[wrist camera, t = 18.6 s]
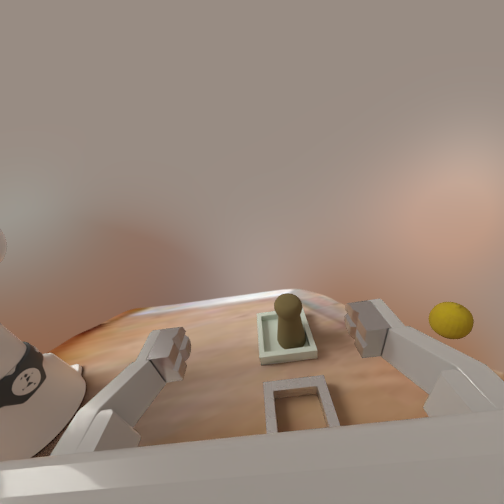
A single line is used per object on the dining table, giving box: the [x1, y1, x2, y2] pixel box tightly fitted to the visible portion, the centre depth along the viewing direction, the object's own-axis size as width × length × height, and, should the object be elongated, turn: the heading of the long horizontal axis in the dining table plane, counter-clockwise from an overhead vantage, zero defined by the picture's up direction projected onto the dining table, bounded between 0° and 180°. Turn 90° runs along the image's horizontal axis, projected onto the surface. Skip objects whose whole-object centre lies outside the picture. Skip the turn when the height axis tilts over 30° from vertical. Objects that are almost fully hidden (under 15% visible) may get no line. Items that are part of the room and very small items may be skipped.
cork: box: [274, 294, 306, 349], centre depth 38 cm, size 6×6×11 cm
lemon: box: [429, 302, 473, 339], centre depth 35 cm, size 6×6×8 cm
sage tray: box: [257, 307, 317, 365], centre depth 42 cm, size 11×11×2 cm
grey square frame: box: [263, 375, 340, 434], centre depth 29 cm, size 10×10×2 cm
